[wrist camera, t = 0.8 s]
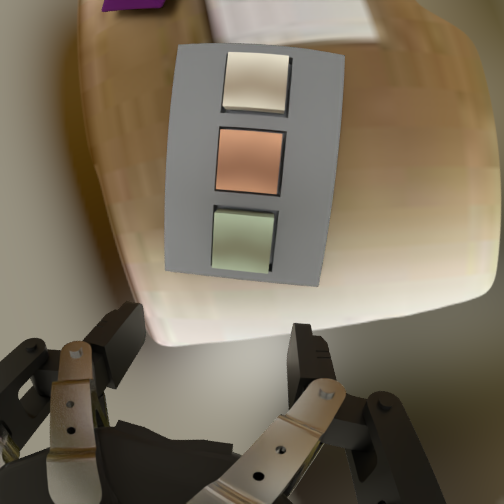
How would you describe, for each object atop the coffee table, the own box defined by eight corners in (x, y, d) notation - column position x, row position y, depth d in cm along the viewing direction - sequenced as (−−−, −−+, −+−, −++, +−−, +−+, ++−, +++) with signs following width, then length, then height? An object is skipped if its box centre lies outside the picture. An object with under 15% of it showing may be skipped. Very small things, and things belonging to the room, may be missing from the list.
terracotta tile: (224, 131, 24) (220, 129, 22) (281, 135, 24) (282, 133, 22) (219, 186, 26) (215, 189, 24) (276, 191, 26) (276, 194, 24)
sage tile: (218, 208, 26) (214, 212, 24) (273, 213, 26) (274, 218, 24) (215, 260, 28) (211, 267, 26) (268, 265, 28) (267, 273, 26)
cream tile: (231, 59, 22) (228, 52, 20) (287, 62, 22) (289, 55, 20) (226, 109, 23) (222, 106, 22) (283, 113, 23) (284, 110, 21)
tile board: (187, 54, 24) (178, 44, 21) (337, 64, 23) (344, 55, 21) (174, 260, 31) (165, 270, 28) (314, 274, 30) (318, 286, 28)
